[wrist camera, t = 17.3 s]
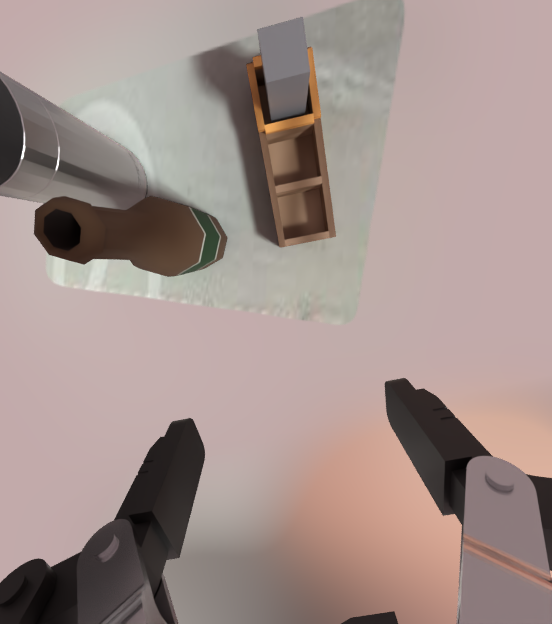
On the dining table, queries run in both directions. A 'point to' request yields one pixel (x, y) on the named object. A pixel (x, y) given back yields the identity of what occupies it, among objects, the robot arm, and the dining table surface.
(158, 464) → the robot arm
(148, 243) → the beer bottle
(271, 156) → the bay rack
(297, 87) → the block
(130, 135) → the dining table surface
